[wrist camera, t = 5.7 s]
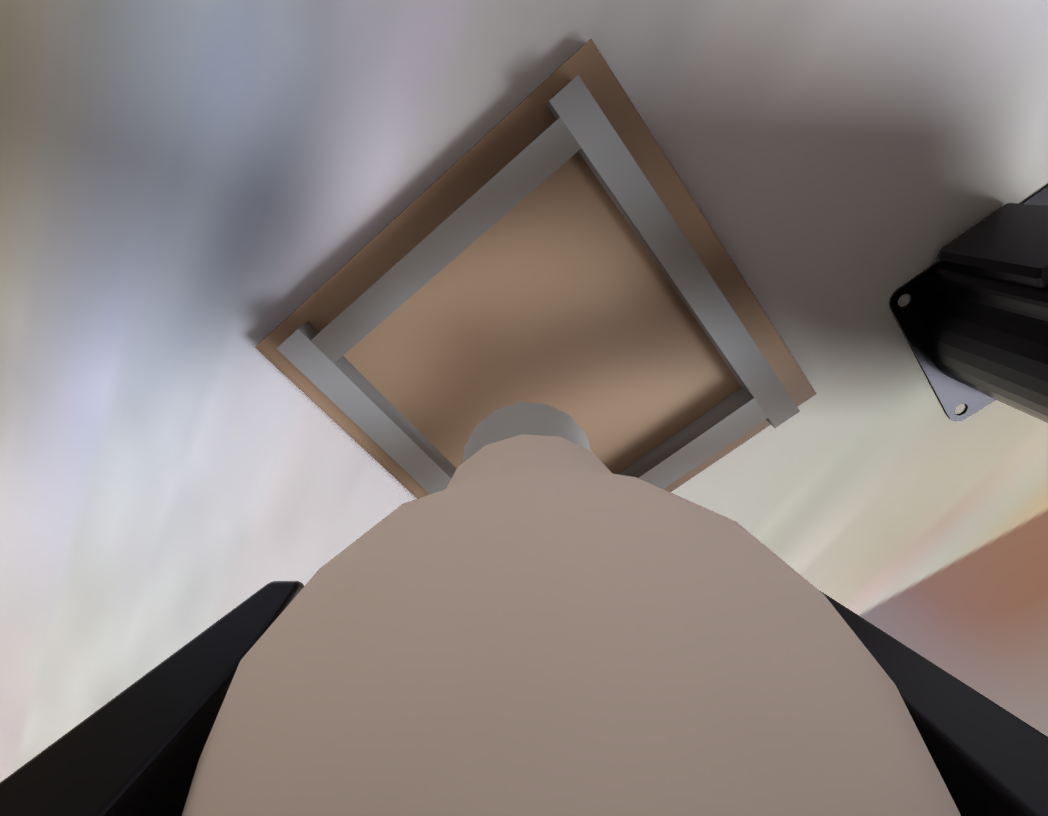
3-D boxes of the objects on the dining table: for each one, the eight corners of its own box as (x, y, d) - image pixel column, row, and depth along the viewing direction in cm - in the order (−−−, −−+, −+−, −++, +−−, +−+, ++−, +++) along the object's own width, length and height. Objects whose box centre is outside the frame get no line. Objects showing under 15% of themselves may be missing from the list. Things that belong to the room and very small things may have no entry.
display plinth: (807, 388, 21) (832, 404, 19) (519, 584, 24) (520, 611, 22) (587, 43, 16) (597, 29, 14) (262, 342, 19) (242, 356, 17)
